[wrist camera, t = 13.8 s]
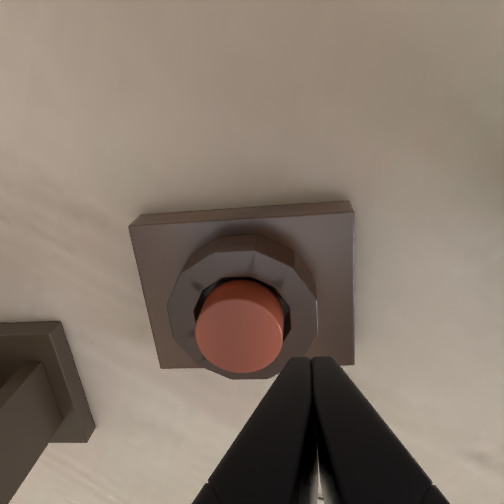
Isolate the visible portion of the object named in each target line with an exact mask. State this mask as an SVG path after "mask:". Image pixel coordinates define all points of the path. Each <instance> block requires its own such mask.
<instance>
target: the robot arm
mask: <svg viewBox="0 0 504 504" xmlns="http://www.w3.org/2000/svg"><path fill="white" fill-rule="evenodd" d="M317 451H318V452H317ZM318 463H319V474H320V481H321V488H322V494H323V499H324V504H450V503H449V502H448V501H447V499H446V498H445V497H444V495H443V494H442V493H441V492H440V490H439V489H438V488H437V487H436V486H435V485H432V481H431V479H430V478H429V477H428V476H427V474H426V473H425V472H424V471H423V469H422V468H421V467H420V466H419V464H418V463H417V462H416V461H415V459H414V458H413V457H412V456H411V454H410V453H409V452H408V451H407V449H406V448H405V447H404V446H403V444H402V443H401V442H400V440H399V439H398V438H397V437H396V435H395V434H394V433H393V432H392V430H391V429H390V428H389V427H388V425H387V424H386V423H385V422H384V420H383V419H382V418H381V417H380V415H379V414H378V413H377V412H376V410H375V409H374V408H373V407H372V405H371V404H370V403H369V402H368V400H367V399H366V398H365V397H364V395H363V394H362V393H361V392H360V390H359V389H358V388H357V386H356V385H355V384H354V383H353V381H352V380H351V379H350V378H349V376H348V375H347V374H346V373H345V371H344V370H343V369H342V368H341V366H340V365H339V364H338V363H337V361H336V360H335V359H334V358H333V357H332V356H317V357H313V358H312V362H311V359H310V358H309V357H292V358H290V359H289V361H288V362H287V363H286V365H285V366H284V368H283V369H282V371H281V372H280V374H279V375H278V377H277V378H276V380H275V381H274V383H273V384H272V386H271V387H270V389H269V390H268V392H267V393H266V395H265V396H264V398H263V399H262V401H261V402H260V404H259V405H258V406H257V408H256V409H255V411H254V412H253V414H252V415H251V417H250V418H249V420H248V421H247V423H246V424H245V426H244V427H243V429H242V430H241V432H240V433H239V435H238V436H237V438H236V439H235V441H234V442H233V444H232V445H231V447H230V448H229V449H228V451H227V452H226V454H225V455H224V457H223V458H222V460H221V461H220V463H219V464H218V466H217V467H216V469H215V470H214V472H213V473H212V475H211V476H210V478H209V479H208V483H206V484H205V485H204V486H203V488H202V489H201V491H200V492H199V494H198V495H197V497H196V498H195V500H194V501H193V503H192V504H317V497H318Z"/></svg>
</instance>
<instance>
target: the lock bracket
mask: <svg viewBox="0 0 504 504" xmlns="http://www.w3.org/2000/svg"><path fill="white" fill-rule="evenodd" d="M94 429H95V425H94V422H93V419H92V416H91V413H90V410H89V407H88V404H87V401H86V398H85V395H84V392H83V389H82V386H81V382H80V379H79V376H78V373H77V370H76V367H75V364H74V361H73V358H72V355H71V352H70V349H69V346H68V343H67V340H66V337H65V334H64V330H63V327H62V324H61V322H31V323H2V324H0V504H8V503H9V502H10V500H11V499H12V497H13V496H14V494H15V493H16V491H17V490H18V488H19V487H20V485H21V484H22V482H23V481H24V479H25V478H26V476H27V475H28V473H29V472H30V470H31V469H32V467H33V466H34V464H35V463H36V461H37V460H38V458H39V457H40V455H41V454H42V452H43V451H44V449H45V448H46V446H47V445H48V443H87V442H88V440H89V438H90V437H91V435H92V433H93V431H94Z"/></svg>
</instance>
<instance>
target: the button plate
mask: <svg viewBox="0 0 504 504" xmlns="http://www.w3.org/2000/svg"><path fill="white" fill-rule="evenodd" d="M128 227H129V232H130V236H131V241H132V245H133V249H134V254H135V258H136V263H137V267H138V271H139V276H140V280H141V284H142V289H143V293H144V298H145V302H146V306H147V311H148V315H149V319H150V324H151V328H152V333H153V337H154V341H155V346H156V350H157V354H158V359H159V363H160V368H161V369H173V368H206V369H208V370H210V371H213V372H215V373H217V374H220V375H222V376H224V377H227V378H229V379H268V378H271V377H273V376H275V375H277V374H279V373H280V372H281V371H282V369H283V368H284V366H285V365H286V363H287V362H288V361H289V359H290V358H292V357H309V358H310V359H311V362H312V358H313V357H317V356H332V357H333V358H334V359H335V360H336V361H337V363H338V364H339V365H354V364H355V316H354V211H353V208H352V206H351V204H350V201H334V202H320V203H305V204H290V205H275V206H261V207H246V208H231V209H216V210H201V211H187V212H172V213H157V214H142V215H140V216H139V217H138V218H137V219H136V220H134V221H133V222H132V223H131V224H130V225H129V226H128ZM237 279H245V280H251V281H255V282H258V283H260V284H262V285H264V286H266V287H267V288H268V289H270V290H271V291H272V292H273V293H274V294H275V295H276V296H277V298H278V299H279V301H280V303H281V305H282V308H283V312H284V327H283V343H282V347H281V350H280V352H279V354H278V356H277V357H276V358H275V359H274V360H273V361H272V362H271V363H270V364H269V365H268V366H266V367H264V368H262V369H260V370H257V371H254V372H249V373H236V372H230V371H226V370H224V369H221V368H219V367H217V366H215V365H214V364H212V363H211V362H210V361H208V360H207V359H206V358H205V357H204V355H203V354H202V353H201V351H200V350H199V348H198V345H197V343H196V339H195V326H196V322H197V319H198V317H199V314H200V312H201V309H202V307H203V304H204V302H205V299H206V298H207V296H208V294H209V293H210V292H211V291H212V290H213V289H214V288H215V287H217V286H218V285H220V284H222V283H224V282H227V281H231V280H237Z"/></svg>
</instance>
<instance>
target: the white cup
mask: <svg viewBox="0 0 504 504" xmlns="http://www.w3.org/2000/svg"><path fill="white" fill-rule="evenodd" d="M317 504H324V500H320V499H317Z"/></svg>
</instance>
